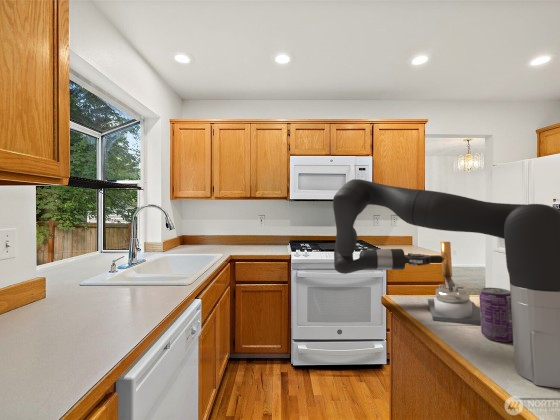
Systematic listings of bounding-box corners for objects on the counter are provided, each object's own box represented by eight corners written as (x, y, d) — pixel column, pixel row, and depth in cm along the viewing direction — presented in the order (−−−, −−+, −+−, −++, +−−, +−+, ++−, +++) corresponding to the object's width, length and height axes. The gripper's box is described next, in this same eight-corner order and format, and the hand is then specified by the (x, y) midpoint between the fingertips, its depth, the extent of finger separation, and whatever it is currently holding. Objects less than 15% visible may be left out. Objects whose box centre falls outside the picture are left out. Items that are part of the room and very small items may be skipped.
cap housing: (488, 325, 82) (487, 306, 83) (433, 320, 88) (432, 303, 88) (473, 305, 101) (472, 290, 101) (427, 302, 106) (427, 287, 106)
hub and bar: (472, 304, 84) (469, 247, 85) (436, 301, 88) (434, 246, 89) (462, 289, 102) (459, 241, 102) (433, 287, 105) (430, 241, 106)
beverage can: (509, 334, 76) (506, 287, 77) (521, 345, 70) (518, 294, 70) (477, 331, 79) (475, 286, 79) (486, 342, 72) (483, 293, 72)
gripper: (392, 251, 100) (447, 250, 97) (386, 247, 113) (434, 246, 110) (393, 273, 100) (448, 273, 97) (387, 266, 113) (435, 266, 110)
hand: (441, 259), depth 103 cm, fingers closed
